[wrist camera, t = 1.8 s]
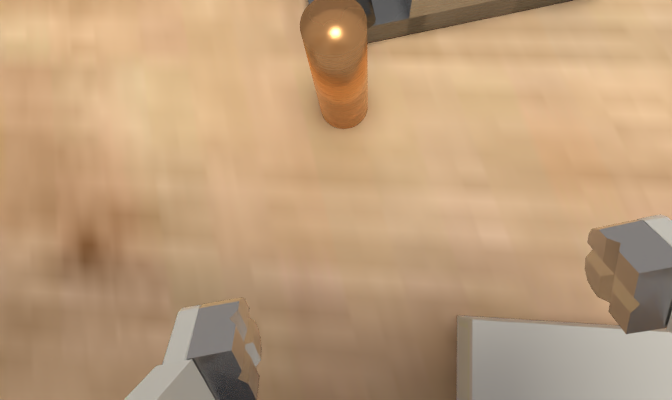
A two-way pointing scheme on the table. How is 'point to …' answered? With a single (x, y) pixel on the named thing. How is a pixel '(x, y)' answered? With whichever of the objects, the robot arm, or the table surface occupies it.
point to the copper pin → (337, 58)
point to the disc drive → (560, 361)
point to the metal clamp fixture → (434, 14)
